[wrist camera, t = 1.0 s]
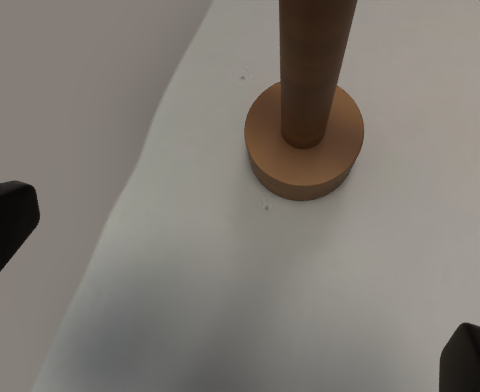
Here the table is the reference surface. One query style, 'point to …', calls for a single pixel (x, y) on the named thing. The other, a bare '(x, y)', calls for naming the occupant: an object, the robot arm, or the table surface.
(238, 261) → the table surface
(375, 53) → the table surface
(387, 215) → the table surface
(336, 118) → the wooden knob stand
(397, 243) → the table surface
